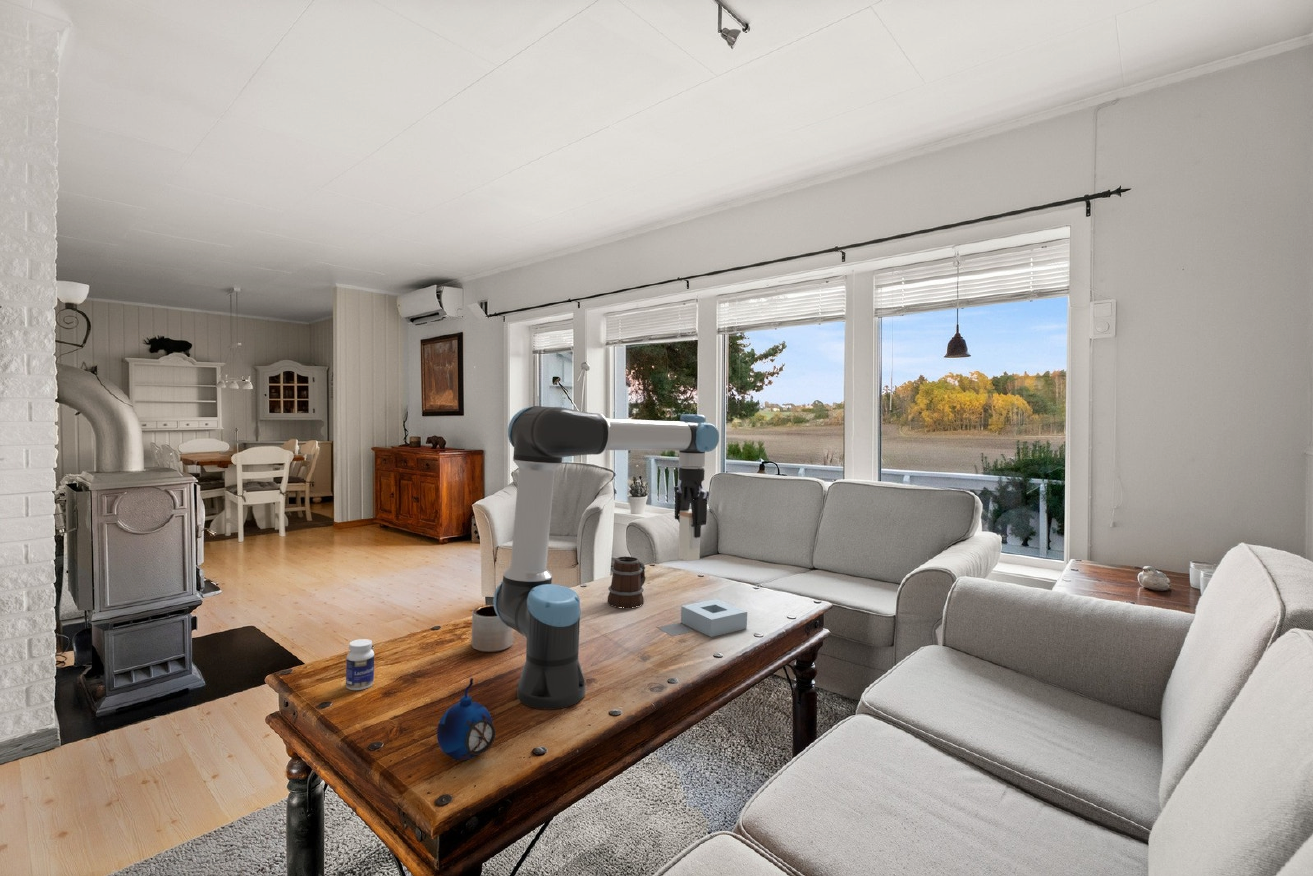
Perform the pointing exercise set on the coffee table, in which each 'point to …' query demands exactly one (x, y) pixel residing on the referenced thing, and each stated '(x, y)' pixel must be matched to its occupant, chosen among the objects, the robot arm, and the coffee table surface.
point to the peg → (686, 537)
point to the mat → (675, 629)
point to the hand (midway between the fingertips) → (689, 546)
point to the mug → (627, 583)
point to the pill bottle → (360, 665)
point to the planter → (489, 630)
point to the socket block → (713, 617)
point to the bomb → (465, 729)
